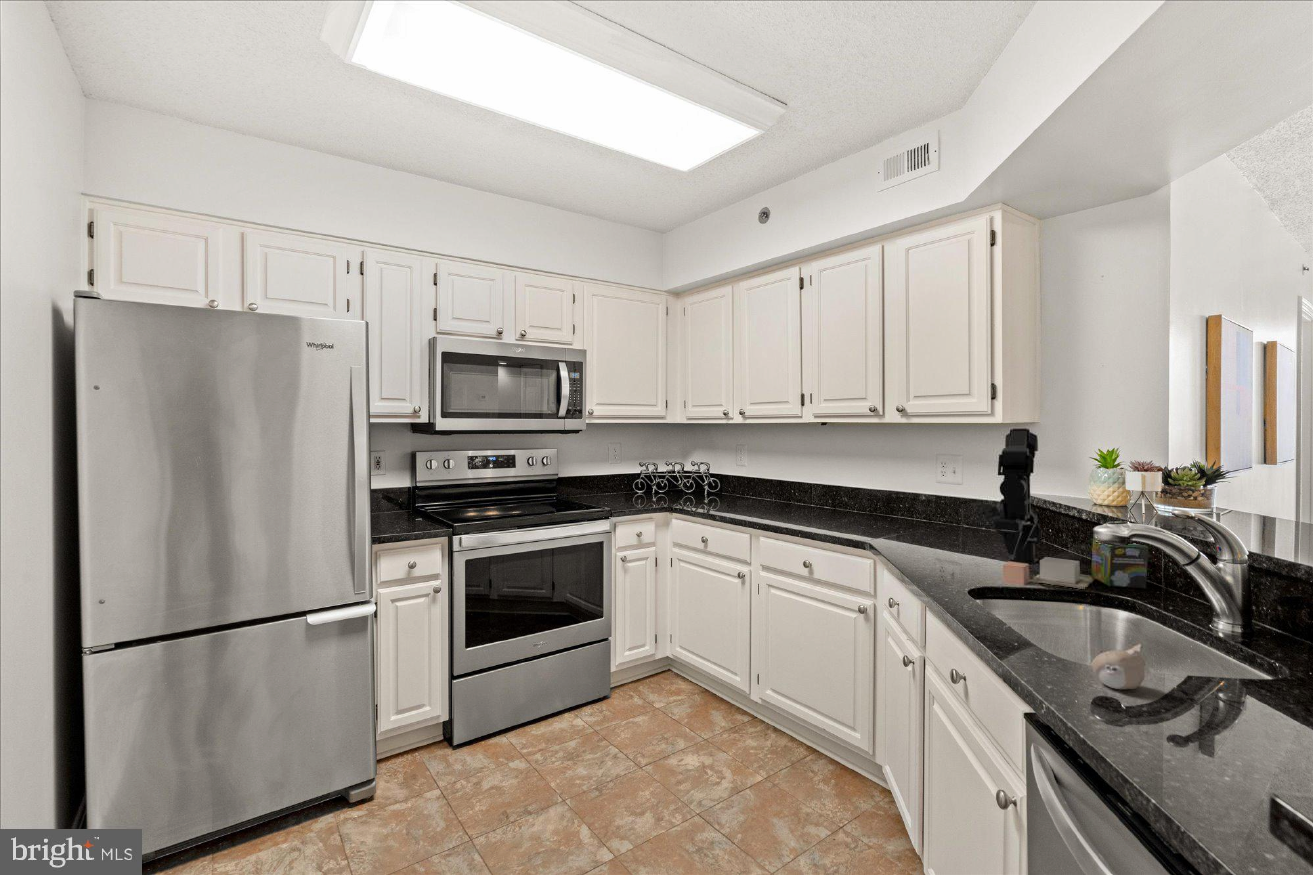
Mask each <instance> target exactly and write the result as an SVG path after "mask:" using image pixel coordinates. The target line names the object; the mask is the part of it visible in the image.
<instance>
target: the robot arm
mask: <svg viewBox="0 0 1313 875" xmlns="http://www.w3.org/2000/svg"><path fill="white" fill-rule="evenodd" d="M1004 438H1005V440H1004V443H1005V446H1004V448H1002V450H1001V453H999V454H998V461H997V462H998V465H997V466H998V467H997V476H1003V481H1001V483H1000V485H999V492H1000V495H1001V496H1003V498H1002V499H1000V501H999V504H995V505H991V504H990V503H988V504H987V503H986V504H985V505H981V508H980V510H979V515H980V516H982V518H983V520H984V521H988V520H989V519H993V518H996V519H994V521H992V529H994V530H995V532H997V533H999V535H1001V537H1002V539H1003V542H1004V544H1005V548H1006V550H1007V554H1008V555H1010V556H1013V557H1011V558H1010V559H1009V561H1010V562H1018V563H1025V564H1035V563H1036V562H1038V561H1039V558H1035V557H1036V556H1035V553H1036V551H1035V546H1036V545H1037V544H1042V543H1043V532H1042V528H1041V527H1040V524H1039V523H1038V515H1037V514H1036V513H1034V512H1033V510H1032V509H1031V475H1032V474H1034V469H1035V468H1034V466H1035V458H1036V452H1038V451H1039V440H1038V438H1039V437H1038V435H1037V434H1035V433H1033V432H1032V431H1030V428H1024V427H1023V428H1022V427H1021V428H1019V427H1018V428H1017V427H1016V428H1011V429H1010V430H1009V433H1008V434H1006V435H1005V437H1004ZM997 517H998V518H997ZM1035 544H1036V545H1035Z"/></svg>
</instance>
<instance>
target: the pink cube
mask: <svg viewBox="0 0 1313 875" xmlns="http://www.w3.org/2000/svg"><path fill="white" fill-rule="evenodd" d="M1002 582H1003V583H1005V584H1013V585H1020V586H1025V585H1027V584H1028V583H1029V582H1030V563H1024V562H1017V561H1010V560H1009V561H1007V562H1005V563H1003V564H1002Z"/></svg>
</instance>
